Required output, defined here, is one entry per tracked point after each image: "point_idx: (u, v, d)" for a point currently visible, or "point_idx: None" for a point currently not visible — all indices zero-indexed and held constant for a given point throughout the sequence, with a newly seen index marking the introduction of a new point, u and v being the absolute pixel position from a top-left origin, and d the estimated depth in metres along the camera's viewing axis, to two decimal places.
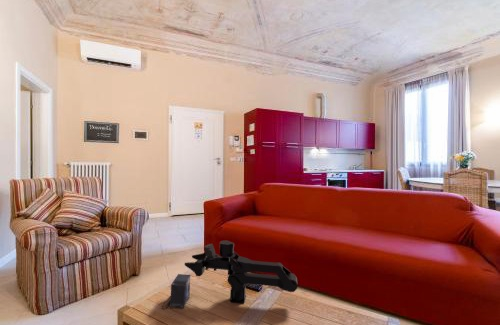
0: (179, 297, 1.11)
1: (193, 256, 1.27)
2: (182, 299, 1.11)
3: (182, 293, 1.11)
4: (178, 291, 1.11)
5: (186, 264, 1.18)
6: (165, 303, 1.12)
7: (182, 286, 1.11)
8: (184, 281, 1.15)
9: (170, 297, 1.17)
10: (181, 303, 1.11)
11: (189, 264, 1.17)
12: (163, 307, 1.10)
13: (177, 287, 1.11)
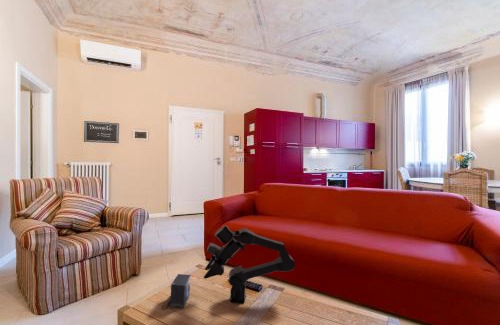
0: (179, 297, 1.11)
1: (206, 268, 1.22)
2: (182, 299, 1.11)
3: (182, 293, 1.11)
4: (178, 291, 1.11)
5: (205, 276, 1.13)
6: (165, 303, 1.12)
7: (182, 286, 1.11)
8: (184, 281, 1.15)
9: (170, 297, 1.17)
10: (181, 303, 1.11)
11: (208, 273, 1.13)
12: (163, 307, 1.10)
13: (177, 287, 1.11)
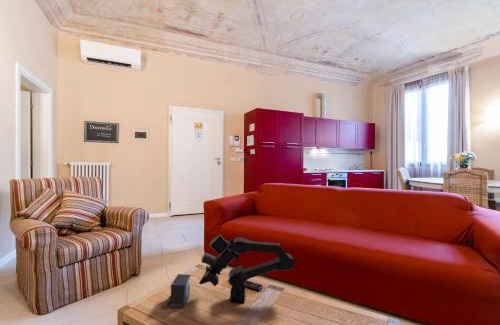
0: (179, 297, 1.11)
1: None
2: (182, 299, 1.11)
3: (182, 293, 1.11)
4: (177, 291, 1.11)
5: (201, 282, 1.17)
6: (165, 303, 1.12)
7: (182, 286, 1.11)
8: (184, 281, 1.15)
9: (170, 297, 1.17)
10: (181, 303, 1.11)
11: (203, 279, 1.16)
12: (163, 307, 1.10)
13: (177, 287, 1.11)
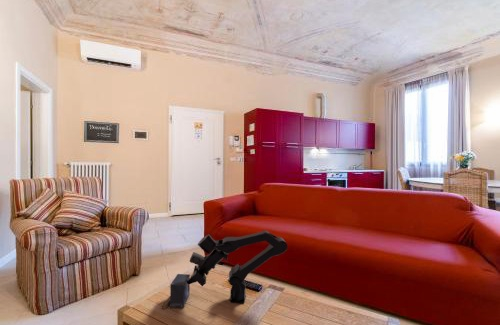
0: (179, 297, 1.11)
1: None
2: (182, 299, 1.11)
3: (182, 293, 1.11)
4: (177, 291, 1.11)
5: (189, 282, 1.16)
6: (165, 303, 1.12)
7: (181, 286, 1.11)
8: (183, 281, 1.15)
9: None
10: (181, 303, 1.11)
11: (191, 279, 1.16)
12: (163, 307, 1.10)
13: (176, 287, 1.11)
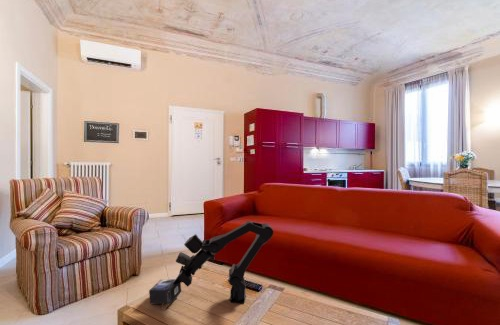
0: (160, 294, 1.12)
1: None
2: (162, 291, 1.12)
3: (156, 291, 1.12)
4: (155, 296, 1.12)
5: (175, 282, 1.15)
6: (165, 303, 1.12)
7: (150, 292, 1.13)
8: None
9: None
10: (165, 292, 1.11)
11: (177, 279, 1.15)
12: (163, 307, 1.10)
13: (151, 297, 1.13)
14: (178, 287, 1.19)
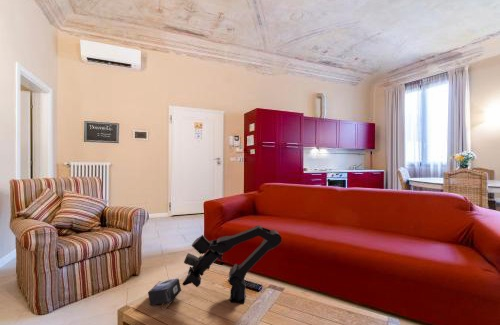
0: (159, 294, 1.12)
1: None
2: (160, 291, 1.12)
3: (155, 292, 1.12)
4: (154, 297, 1.12)
5: (184, 283, 1.16)
6: (165, 303, 1.12)
7: (149, 293, 1.13)
8: None
9: None
10: (164, 291, 1.12)
11: (186, 280, 1.15)
12: (163, 307, 1.10)
13: (151, 298, 1.13)
14: (177, 286, 1.19)
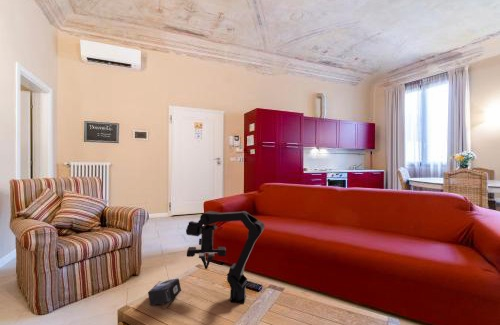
0: (159, 294, 1.12)
1: None
2: (160, 291, 1.12)
3: (155, 292, 1.12)
4: (154, 297, 1.12)
5: (204, 266, 1.24)
6: (165, 303, 1.12)
7: (149, 293, 1.13)
8: None
9: None
10: (164, 292, 1.12)
11: None
12: (163, 307, 1.10)
13: (151, 298, 1.13)
14: (177, 286, 1.19)
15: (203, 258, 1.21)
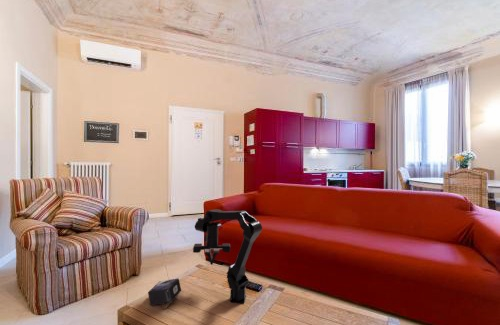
0: (159, 294, 1.12)
1: None
2: (160, 291, 1.12)
3: (155, 292, 1.12)
4: (154, 297, 1.12)
5: (210, 262, 1.30)
6: (165, 303, 1.12)
7: (149, 293, 1.13)
8: None
9: None
10: (164, 292, 1.12)
11: None
12: (163, 307, 1.10)
13: (151, 298, 1.13)
14: (177, 286, 1.19)
15: (209, 254, 1.27)
